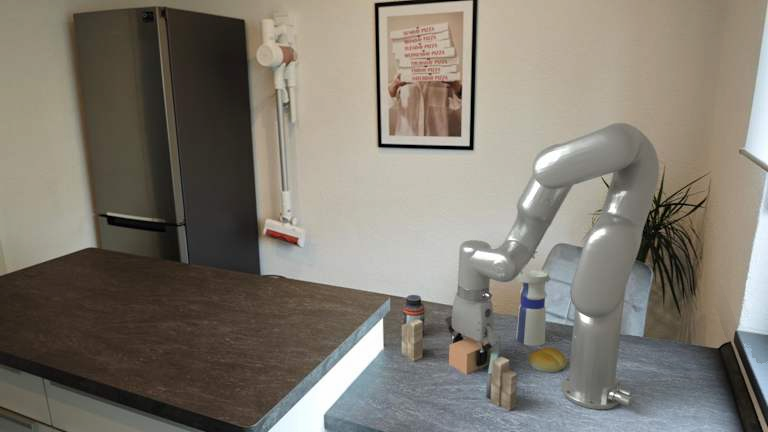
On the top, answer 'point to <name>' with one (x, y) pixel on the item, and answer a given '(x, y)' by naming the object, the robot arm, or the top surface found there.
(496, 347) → the pale green flat bar
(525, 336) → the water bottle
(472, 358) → the block
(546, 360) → the bread roll
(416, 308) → the supplement bottle
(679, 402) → the top surface
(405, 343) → the wooden block fence
